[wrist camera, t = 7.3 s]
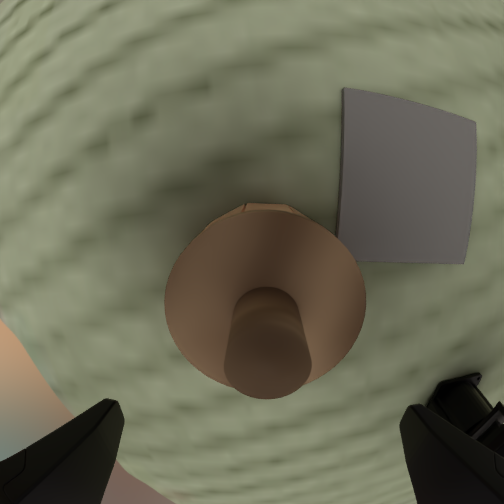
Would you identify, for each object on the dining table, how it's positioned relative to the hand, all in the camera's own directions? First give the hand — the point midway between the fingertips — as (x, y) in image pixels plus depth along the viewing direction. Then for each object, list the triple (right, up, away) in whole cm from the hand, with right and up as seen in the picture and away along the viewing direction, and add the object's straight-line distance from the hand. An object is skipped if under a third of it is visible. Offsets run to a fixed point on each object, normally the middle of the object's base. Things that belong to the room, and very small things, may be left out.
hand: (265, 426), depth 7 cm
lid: (0, +2, +7) cm, 8 cm away
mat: (+11, +10, +10) cm, 17 cm away
